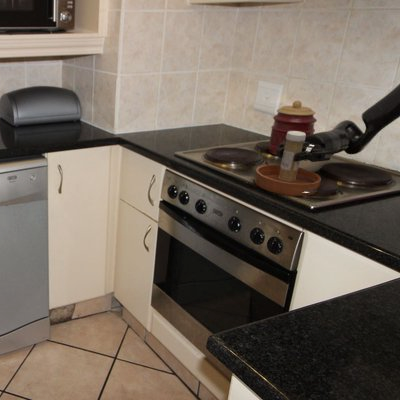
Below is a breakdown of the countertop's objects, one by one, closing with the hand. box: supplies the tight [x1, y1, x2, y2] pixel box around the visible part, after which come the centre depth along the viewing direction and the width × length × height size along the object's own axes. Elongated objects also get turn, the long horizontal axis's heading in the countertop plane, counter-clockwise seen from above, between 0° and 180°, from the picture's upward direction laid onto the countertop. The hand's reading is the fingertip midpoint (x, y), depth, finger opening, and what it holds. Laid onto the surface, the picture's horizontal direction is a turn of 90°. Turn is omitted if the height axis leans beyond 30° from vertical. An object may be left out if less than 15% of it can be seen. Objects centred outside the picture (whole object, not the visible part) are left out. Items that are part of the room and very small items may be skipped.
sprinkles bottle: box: [278, 131, 306, 182], centre depth 130 cm, size 5×5×14 cm
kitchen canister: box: [267, 100, 318, 156], centre depth 159 cm, size 13×13×18 cm
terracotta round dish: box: [253, 164, 322, 197], centre depth 133 cm, size 16×16×4 cm
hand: (286, 155), depth 129 cm, fingers closed on sprinkles bottle, 4 cm apart
